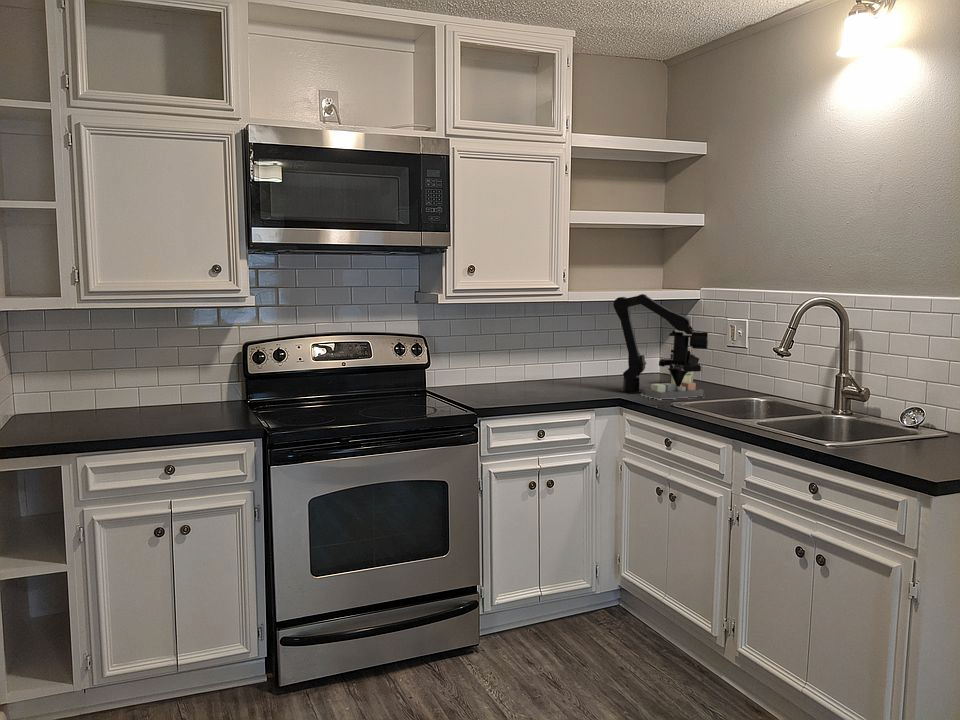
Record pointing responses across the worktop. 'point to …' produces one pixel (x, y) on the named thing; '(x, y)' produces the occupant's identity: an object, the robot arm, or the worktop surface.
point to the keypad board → (671, 394)
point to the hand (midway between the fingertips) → (678, 386)
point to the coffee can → (687, 377)
